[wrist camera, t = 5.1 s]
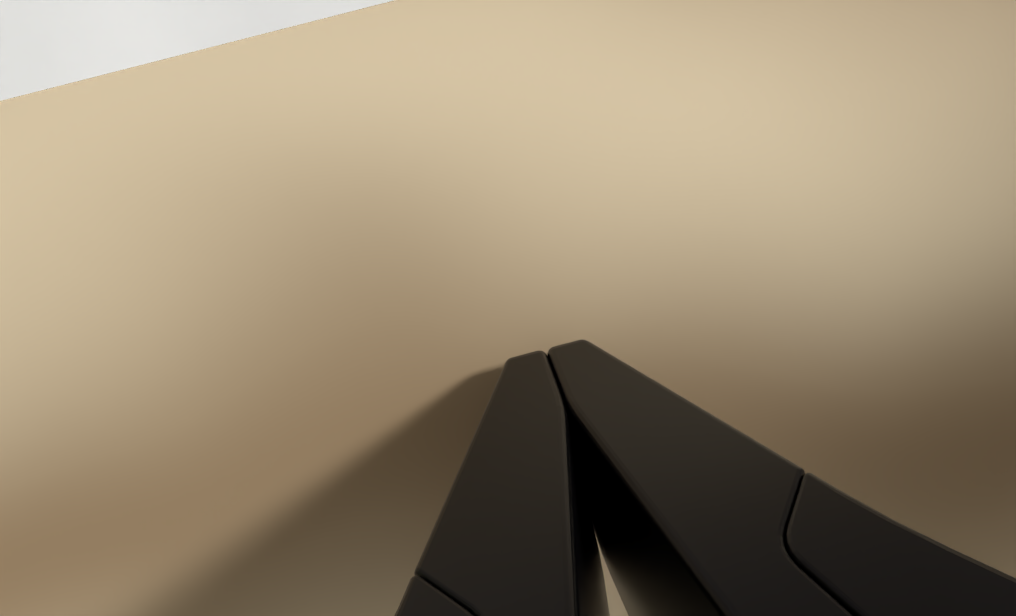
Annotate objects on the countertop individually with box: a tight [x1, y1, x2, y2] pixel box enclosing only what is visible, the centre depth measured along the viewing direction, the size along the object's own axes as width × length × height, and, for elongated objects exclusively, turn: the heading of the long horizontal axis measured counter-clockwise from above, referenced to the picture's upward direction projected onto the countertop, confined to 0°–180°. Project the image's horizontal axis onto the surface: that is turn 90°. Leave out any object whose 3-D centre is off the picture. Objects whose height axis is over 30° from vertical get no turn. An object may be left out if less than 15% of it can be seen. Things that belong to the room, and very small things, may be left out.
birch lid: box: [0, 0, 1016, 616], centre depth 10 cm, size 10×16×1 cm, turn 105°
